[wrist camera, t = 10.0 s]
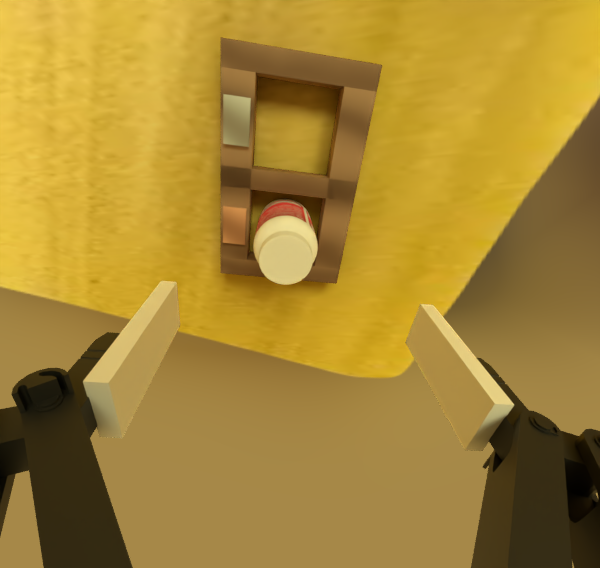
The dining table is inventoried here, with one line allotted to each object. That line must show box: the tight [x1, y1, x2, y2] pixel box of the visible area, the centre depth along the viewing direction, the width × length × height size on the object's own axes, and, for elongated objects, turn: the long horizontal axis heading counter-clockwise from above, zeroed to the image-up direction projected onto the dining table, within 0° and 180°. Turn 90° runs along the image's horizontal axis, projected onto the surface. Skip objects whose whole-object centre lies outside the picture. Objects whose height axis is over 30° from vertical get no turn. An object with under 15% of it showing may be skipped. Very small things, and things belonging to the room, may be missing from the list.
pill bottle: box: [253, 198, 318, 285], centre depth 30 cm, size 6×6×11 cm
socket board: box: [221, 38, 382, 283], centre depth 31 cm, size 22×14×3 cm, turn 173°
